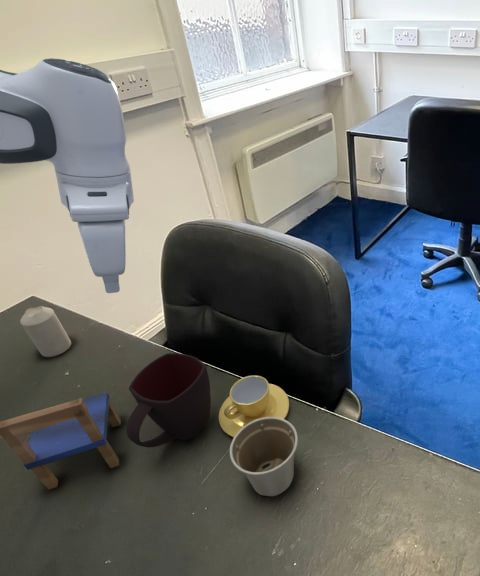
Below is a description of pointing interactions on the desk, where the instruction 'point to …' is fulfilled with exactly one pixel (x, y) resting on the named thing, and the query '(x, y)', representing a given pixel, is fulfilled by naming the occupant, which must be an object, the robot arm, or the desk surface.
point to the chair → (62, 434)
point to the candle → (45, 331)
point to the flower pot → (266, 454)
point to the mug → (171, 398)
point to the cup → (252, 403)
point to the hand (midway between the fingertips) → (110, 276)
